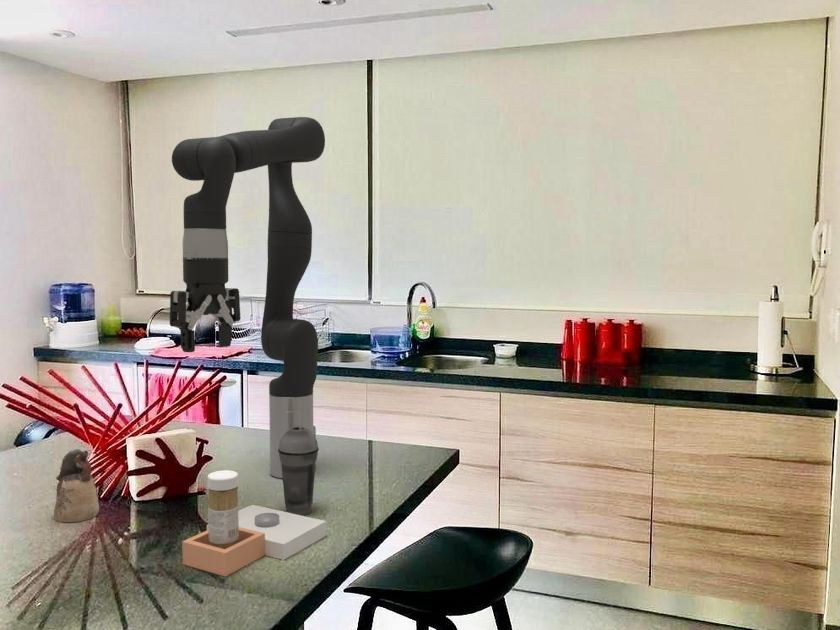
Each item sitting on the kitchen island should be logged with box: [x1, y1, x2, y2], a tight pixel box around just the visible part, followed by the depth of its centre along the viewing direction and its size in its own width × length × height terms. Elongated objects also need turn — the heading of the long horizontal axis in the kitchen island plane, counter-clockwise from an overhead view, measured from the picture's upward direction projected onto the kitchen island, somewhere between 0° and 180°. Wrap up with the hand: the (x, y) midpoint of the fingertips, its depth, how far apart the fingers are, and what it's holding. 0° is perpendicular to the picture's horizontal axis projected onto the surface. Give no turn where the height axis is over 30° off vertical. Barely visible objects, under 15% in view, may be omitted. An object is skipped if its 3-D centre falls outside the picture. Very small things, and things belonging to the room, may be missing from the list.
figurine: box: [53, 448, 100, 523], centre depth 126 cm, size 7×7×12 cm
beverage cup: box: [278, 404, 320, 516], centre depth 129 cm, size 7×7×20 cm
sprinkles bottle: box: [206, 469, 240, 549], centre depth 108 cm, size 5×5×14 cm
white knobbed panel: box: [181, 504, 327, 577], centre depth 113 cm, size 20×16×4 cm
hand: (207, 349), depth 124 cm, fingers open, 8 cm apart
